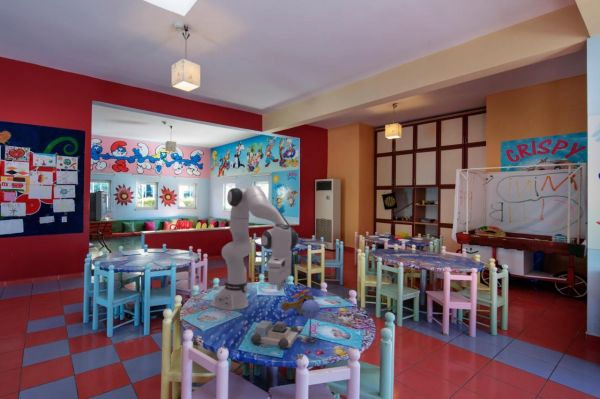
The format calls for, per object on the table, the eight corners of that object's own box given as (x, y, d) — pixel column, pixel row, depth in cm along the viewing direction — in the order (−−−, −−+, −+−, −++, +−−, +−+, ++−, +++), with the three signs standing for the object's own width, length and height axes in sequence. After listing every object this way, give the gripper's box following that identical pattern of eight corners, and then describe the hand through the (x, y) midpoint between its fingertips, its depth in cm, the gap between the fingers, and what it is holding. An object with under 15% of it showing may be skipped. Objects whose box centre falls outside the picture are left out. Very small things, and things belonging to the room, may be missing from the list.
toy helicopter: (317, 313, 177) (318, 289, 177) (284, 320, 167) (285, 294, 167) (309, 309, 184) (310, 286, 184) (278, 315, 174) (278, 290, 174)
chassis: (249, 343, 140) (250, 330, 140) (264, 329, 155) (264, 317, 155) (287, 350, 135) (288, 336, 135) (298, 334, 150) (299, 322, 150)
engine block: (272, 336, 143) (273, 323, 143) (276, 332, 147) (276, 320, 147) (283, 337, 142) (283, 325, 142) (286, 334, 146) (286, 321, 146)
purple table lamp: (299, 334, 150) (300, 297, 150) (317, 334, 151) (318, 297, 151) (301, 342, 142) (302, 303, 141) (320, 342, 142) (321, 303, 142)
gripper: (282, 255, 155) (281, 283, 155) (266, 263, 135) (264, 295, 135) (294, 256, 153) (293, 284, 153) (279, 264, 133) (278, 297, 134)
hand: (280, 289), depth 144 cm, fingers closed
